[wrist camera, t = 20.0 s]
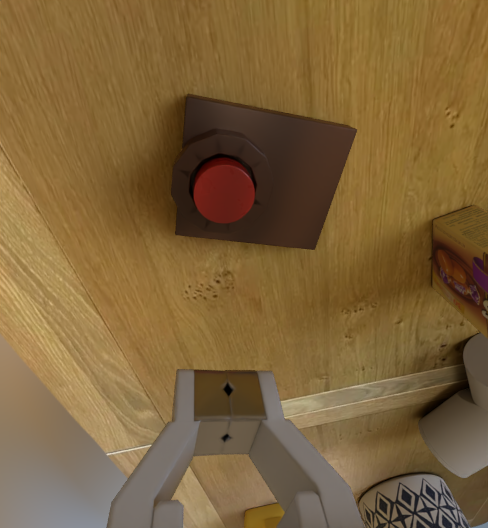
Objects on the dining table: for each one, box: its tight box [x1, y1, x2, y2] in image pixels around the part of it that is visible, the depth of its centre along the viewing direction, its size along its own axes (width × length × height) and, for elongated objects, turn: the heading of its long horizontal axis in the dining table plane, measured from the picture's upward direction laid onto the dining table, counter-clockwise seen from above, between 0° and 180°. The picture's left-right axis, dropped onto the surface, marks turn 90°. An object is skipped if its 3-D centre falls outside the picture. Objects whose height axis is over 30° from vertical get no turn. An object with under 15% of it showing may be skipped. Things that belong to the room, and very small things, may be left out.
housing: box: [171, 94, 357, 250], centre depth 24 cm, size 12×10×4 cm
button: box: [194, 157, 255, 223], centre depth 21 cm, size 4×4×2 cm
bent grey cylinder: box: [418, 333, 488, 478], centre depth 42 cm, size 18×11×20 cm
